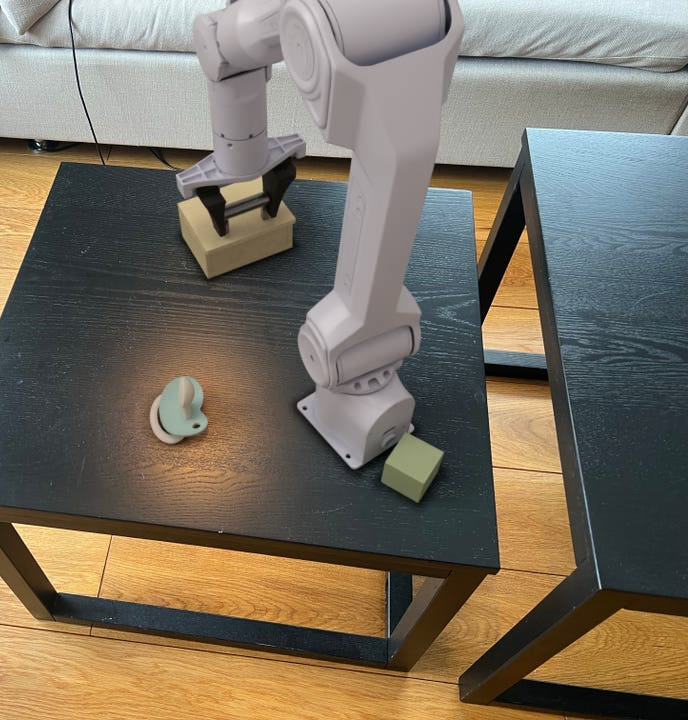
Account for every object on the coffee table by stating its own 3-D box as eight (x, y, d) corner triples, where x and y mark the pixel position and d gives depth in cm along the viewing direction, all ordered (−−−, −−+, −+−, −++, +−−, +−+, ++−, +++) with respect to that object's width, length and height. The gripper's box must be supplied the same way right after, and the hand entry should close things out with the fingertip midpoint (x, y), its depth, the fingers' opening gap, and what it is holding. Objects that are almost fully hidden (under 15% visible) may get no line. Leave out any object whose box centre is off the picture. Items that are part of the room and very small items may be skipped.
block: (437, 472, 73) (444, 452, 70) (418, 503, 72) (424, 484, 68) (400, 452, 75) (405, 431, 72) (380, 482, 73) (384, 462, 70)
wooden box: (292, 247, 93) (292, 219, 89) (208, 279, 91) (204, 251, 87) (263, 206, 98) (262, 178, 94) (182, 235, 96) (177, 207, 92)
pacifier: (154, 453, 78) (211, 442, 77) (143, 421, 73) (204, 410, 72) (147, 395, 82) (202, 385, 82) (136, 361, 77) (194, 351, 77)
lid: (295, 223, 89) (296, 193, 85) (207, 255, 87) (203, 227, 83) (262, 177, 94) (261, 148, 90) (177, 207, 92) (173, 178, 88)
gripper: (285, 82, 80) (285, 181, 91) (159, 124, 78) (175, 221, 89) (316, 117, 76) (313, 217, 87) (185, 162, 74) (198, 259, 85)
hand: (245, 221), depth 88 cm, fingers closed on lid, 6 cm apart
